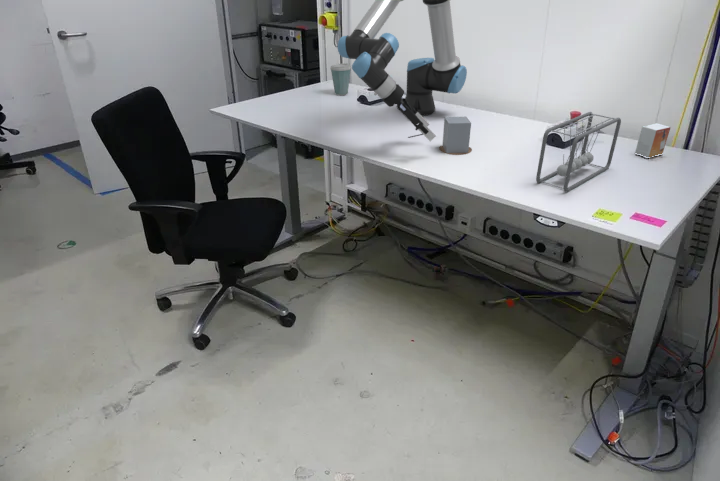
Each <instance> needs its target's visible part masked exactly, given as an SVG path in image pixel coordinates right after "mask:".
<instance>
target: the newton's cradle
mask: <svg viewBox="0 0 720 481" xmlns="http://www.w3.org/2000/svg"><path fill="white" fill-rule="evenodd" d="M595 116H596V117H601V118H606V120H602V121H601V120H599V119H598V123H596V122H594V125H592V124H593V120H595V121H596V119H595V118H593V117H595ZM587 120H588V121H587ZM584 121H585V122H586V123H587V124H586V128H584V126H585V124H584ZM580 122H582V123H581V126H582V127H581V131H578V128H579V129H580V126H577V128H576V126H575V124H576V125H578V124H579V125H580ZM615 123H616V125H615V129H614V133H613V134H614V135H613V138H612V142H611V145H610V151H609V154H608V157H607V162H606V164H605V166H601V165H597V164H593V161H594V154H593V153H591V151H592V150H593V148H594V144H595V143H596V140H597V137H598V135H599V133H600V130H603V129H604V128H606V127H609V126H611V125H613V124H615ZM621 124H622V118H620V117H616V118H615V117H611V116H606V115H603V114H602V115H600V114H597V113H593V112H592V111H588V112H585V113H583V114H580V115H578V116H576V117H573V118H570V119H568V120H566V121H564V122H562V123H559V124H557V125H556V124H555V125H554V126H552V127H549V128H548V129H546V130H545V131H544V134H543V136H542V143H541V147H540V148H541V149H540V154H539V159H538V160H539V161H538V165H537V171H536V176H535V180H536V183H537V184H541V183H543V184H545V185H550V186H553V187H554V188H555V187H556V188H558V189H561V190H564V192H565V193H569V192H570V191H572V190H574V189H576V187H579V186H580V185H582V184H584V183H586V182H587V181H589V180H591V179H593V178H594V177H596V176H598V175H600V174H602V173H603V172H605V171H607V170H608V169H609V168H610V167H611V164H612V161H613V156H614V152H615V149H616V145H617V140H618V135H619V132H620V129H621ZM572 127H574V128H576V130H573V129H572ZM569 128H570V129H569ZM566 129H567V130H569V132H570V133H566V131H565V130H566ZM561 130H563V132H561ZM550 132H552V133H556V134H560V135H563V140H565V138H566V136H568V137H569V138H570V139H569V140H570V141H569V155H568V157H567V161H566V162H565V155H563V156H562V157H563V159H562V160H563V163H562V164H561V165H559V166H558V167H557V168H556V170H555V171H552V173H549V174H548V175H546V176H544V177H541V173H542V168H543V162H544V157H545V151H546V146H547V141H548V136H549V134H550ZM572 132H575V133H574V134H572ZM596 132H598V133H597V135H596V138H595V139H594V142H593V144H592V146H591V148H590V151H589V146H590V143H591V141H592V138H593V137H594V134H595V133H596ZM590 135H592V136H591V138H590V141H589V137H590ZM571 137H572V138H574V139H573V140H572V138H571ZM583 138H584V139H583ZM571 140H572V141H571ZM579 140H580V142H579ZM578 142H579V145H578V147H577V144H578ZM580 145H582V147H581V151H580V152H579V154H578V156H577V152H578V149H579V147H580ZM587 165H590V166H593V167H596V168H597V167H598V168H600V169H599V170H597V171H595V172H592V174H590V175H588V176H586V177H583V178H582V179H581V180H578V181H577V182H576V183H573V184H572V185H570V186H569V182H570V178H571V174H572V173H574V172H575V171H577V170H580V169H581V168H583V167H585V166H587ZM601 172H602V173H601ZM557 175H558V176H560V177H565V178H564V183H563V187H561V186H559V185H556V184H553V183H550V182H546V181H547V180H549V179H551V178H553V177H554V176H557Z"/></svg>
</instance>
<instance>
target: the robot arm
mask: <svg viewBox="0 0 720 481" xmlns="http://www.w3.org/2000/svg"><path fill="white" fill-rule="evenodd" d="M403 1H404V0H375V1H374V2H373V3H372V5H370V8H369V9H368V10H367V12H366V13H365V14H364V16H363V17H362V19H361V20H360V21H359V23H358V24H357V26H356V27H355V28H354V29H353V31H352V32H351V34H350V35H343V36H341V37H340V38H339V39H338V41H337V52H338V54H339V55H340V57H341V58H345V59H349V60H354V61H353V63H352V65H351V71H352V72H354V74H356V76H357V77H358V78H359V79H360V80H361V81H362V82H364V84H365V85H367V87H369V89H371V90H372V91H373V93H374V94H373V95H374V96H378V97H379V98H380V99H382V102H384V104H386V105H387V106H388V107H389V108H390V107H394V106H395V105H396V108H397V110H398V111H399V112H400V113H402V115H404V116H405V118H407V120H408V121H409V122H411V124H412V125H413V126H414V127H415V128H414V130H415V131H416V132H417V131H419V132H420V134H423V135H422V136H424V137H426V139H427V140H428V141H429V142H432V140H434V139H435V138H436V137H437V136H436V134H435V133H434V132H433V131H432V130H431V129H430V128H429V126H430V123H429V122H428V121H427V120H426V119H425V118H424V117H423V116H429V115H432V114H435V112H436V105H435V101H434V96H433V91H434V92H440V93H447V94H458V93H460V91H461V90H462V88H463V87H464V86H465V83H466V79H467V73H468V72H467V67H466V66H465V65H461V60H460V58H459V57H458V56H457V55H456V47H455V36H454V28H453V20H452V19H453V18H452V9H451V0H422V3H423V4H424V5H426V6H427V12H428V20H429V25H430V26H429V28H430V33H431V34H430V35H431V40H432V41H431V42H432V47H433V48H432V49H433V56H434V57H421V58H416V59H415V58H414V59H411V60H409V61H408V62H407V65H406V66H407V68H406V94H405V90H404V89H403V88H402V87H401V86H400V85H399V84H398V83H397V81H396V80H395V79H394V78H393V77H392V76H391V75H390V74H389V73H388V72H387V71H386V70H385V69H386V68H387V66H388V65H389V63H390V62H391V60H392V59H393V58H394V56H396V53H397V51H398V50H399V48H400V43H399V40H398V38H397V37H396V36H395V35H394V34H393V33H390V32H384V33H382V34H381V35H380V36H379V38H375V37H376V36H377V35H378V34H379V32H380V31H381V29H382V28H383V27H384V25H385V23H386V22H387V21H388V19H389V18H390V16H391V15H392V14H393V12H394V11H395V9H396V8H397V7H398V5H399V4H400V2H403ZM404 94H405V97H403V96H404Z"/></svg>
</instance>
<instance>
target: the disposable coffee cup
mask: <svg viewBox="0 0 720 481" xmlns="http://www.w3.org/2000/svg"><path fill="white" fill-rule="evenodd" d="M330 71H331V72H330V73H331V77H332V84H333V90H334V94H335V96H347V95H348V94H349V87H350V86H349V84H350V79H351V78H350V77H351V76H350V75H351V71H352V65H351V64H350V63H347V62H346V63H345V62H343V63H335V64H332V65H331V66H330ZM346 94H347V95H346Z"/></svg>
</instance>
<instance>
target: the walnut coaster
mask: <svg viewBox="0 0 720 481" xmlns="http://www.w3.org/2000/svg"><path fill="white" fill-rule="evenodd" d="M438 149H439V152H441V153H443V154H446V155H452V156H462V155H468V154H470V153H472V151H473V149H472V147H470V146H469V150H468V153H446V151H445V150H444V148H443V146H442V145H440V146H439V147H438Z"/></svg>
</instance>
